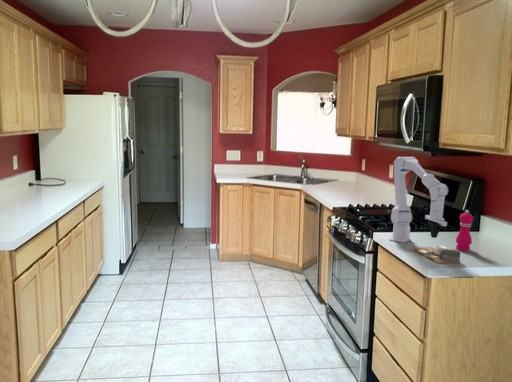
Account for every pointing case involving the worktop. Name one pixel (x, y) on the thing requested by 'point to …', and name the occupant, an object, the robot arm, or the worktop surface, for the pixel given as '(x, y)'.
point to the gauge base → (444, 256)
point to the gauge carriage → (437, 250)
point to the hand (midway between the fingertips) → (433, 237)
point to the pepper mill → (464, 232)
